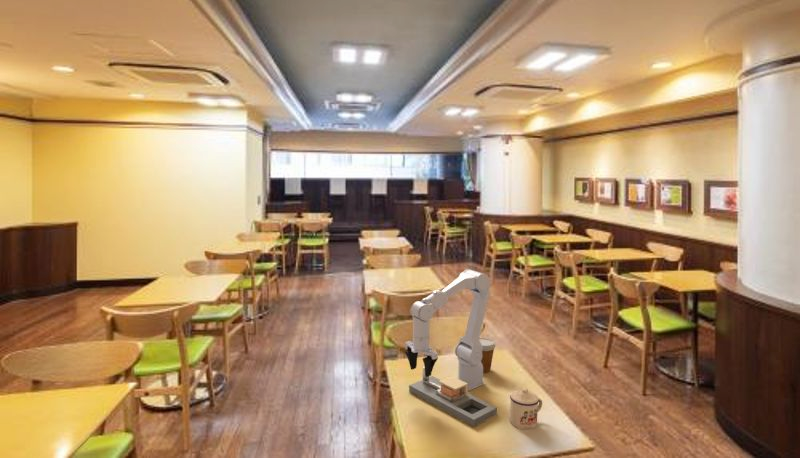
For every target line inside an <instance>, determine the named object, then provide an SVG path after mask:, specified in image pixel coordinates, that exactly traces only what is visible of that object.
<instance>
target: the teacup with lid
mask: <svg viewBox="0 0 800 458" xmlns="http://www.w3.org/2000/svg"><path fill="white" fill-rule="evenodd" d="M509 399H510V404H509V405H510V407H509V410H510V411H509V422H510V424H511V425H512V426H514V427H516V428H518V429H521V430H532V429H534V428H536V426H537V425H538V413H539V412H540V411H541V409H542V407H543V400H542V399H541V398H539V397H538V395H537V393H534V392H532V391H530V390H529V389H528V388H526V387H522V388H521V389H517V390H514V391H512V392H511V393H510V395H509Z"/></svg>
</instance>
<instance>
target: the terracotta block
mask: <svg viewBox="0 0 800 458" xmlns="http://www.w3.org/2000/svg"><path fill="white" fill-rule="evenodd" d="M441 393H443V394H445V395H447V396H449V397H451V398H452V397H454V396H457V395H459V394H460V389H458V390H456V391H455V390H453V389H451V388H448V387H446V386H444V385H441Z"/></svg>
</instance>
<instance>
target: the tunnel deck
mask: <svg viewBox="0 0 800 458" xmlns="http://www.w3.org/2000/svg"><path fill="white" fill-rule="evenodd" d="M429 381H431V382H433V383H435V384H437V385H439V386H441V385H444V386H446V387H448V388H451V389H453V390H455V391H456V390H458V389H460V391H461V392H463V393H465V397H463V398H460V399H458V400H456V401H454V402H452V401H450V400H448V399H446V398H444V397H442V396H440V395H438V394H436V390H438V389H436V388H434V387H432V386H430V385H428V384H426V383H424V382H422V380H418V381H416V382H414V383H411V384H409V385H408V388H409V389H408V392H409V393H411V394H412V395H414V396H417V397H419V398H420V399H422V400H423V401H425V402H426V403H430V404H431V405H433V406H435V407H436V408H439V409H440V410H442V411H444V412H445V413H446V414H447V413H448V414H449V415H451V416H452V417H455V418H457V419H458V420H459V421H460V420H461V421H462V422H464V423H466V424H468V425H469V426H471V427H473V428H474V427H476V426H479V425H480V424H482V423H484V422H486V421H488V420H490V419H491V418H493V417H495V416H497V415H498V407H497V406H495V405H492V403H491V404H490V403H489V402H487V401H485V400H483V399H481V398H479V397H476V396H475V395H472V394H471V393H468V383H466V382H463V381H461V380H459V379H458V377H455V376H452V375H450V376H447V377H444V378H443V379H439V378H437V377H435V376H434V375H431V376H429Z"/></svg>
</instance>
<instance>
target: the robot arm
mask: <svg viewBox="0 0 800 458" xmlns="http://www.w3.org/2000/svg"><path fill="white" fill-rule="evenodd" d="M491 283H492V280H491V279H490V277H489V275H488V274H486V273H483V272H479V271H476V270H472V269H470V268H466V269H465V270H463V271H462V272H460V273H459V275H458V277H457V278H456V279H454V280H453V281H452V282H451V283H450V284H448V285H447V286H446V287H444V288H443V289H442V290H440V289H437V290H433V291H432V293H431V294H429V295H427V297H424V298H422V300H420V301H418V300H417V301H415V302H414V303H413V304H412V305H411V307H410V309H409V313H410V315H411V317H412V324H413V325H412V326H413V327H412V328H413V329H412V341H410V340H408V341H405V346H404V347H405V348H406V349H405V350H404V353H405V356H406V357H407V360H408V362H409V363H408V364H409V367H410V370H412V371H413V370H415V369H417V366H418V365H417V364H418V363H417V362H418V356H419V354H422V355H424V356H426V357H423V358H422V361H423V366H425V376H426V377H428V376H429V377H431V376H432V372H433V369H434V366H435V364H436V363H437V361H438V359H439V358H438V357H439V355H438V352H437V351H435V350H433V348H432V347H430V320H431V319H432V318H433V315H434V314H435V312H436V311H439V309H441V308H442V307H444V306H445V305H446V304H447V303H448V299H449V298H451V297H452V296H454V295H456V294H458V293H459V292H461V291H462V290H464V289H466V290H467V289H468V290H470V292H471V294H472V295H473V299H472V303H471V308H470V312H469V316H468V320H467V324H466V328H465V333H464V335H463V336H462V337H460V338H459V340H458V343H457V345H455V348H454V354H455V357H457V360H458V373H457V375H458V377H457V379H459V380H461V381H463V382H466V383H468V391H471V390H473V389H476V388H478V387H480V386H483V385H485V382H484V380H483V379H484V373H483V365H482V363H481V360H482V348H483V346H482V344H481V342H480V341H479V338H481V337H480V336H481V332H482V327H483V324H484V320H485V315H486V311H487V307H488V306H487V305H488V302H489V298H490V293H491V292H490V287H491Z"/></svg>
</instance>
